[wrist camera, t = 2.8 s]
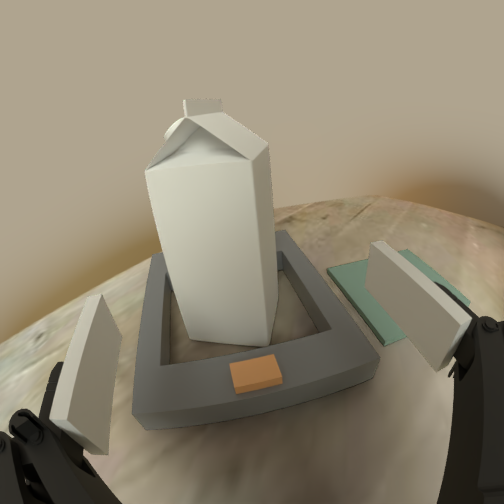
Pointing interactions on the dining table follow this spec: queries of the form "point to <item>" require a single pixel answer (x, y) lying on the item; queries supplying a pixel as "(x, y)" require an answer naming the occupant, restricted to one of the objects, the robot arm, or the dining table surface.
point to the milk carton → (217, 225)
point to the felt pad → (371, 311)
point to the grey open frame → (247, 357)
